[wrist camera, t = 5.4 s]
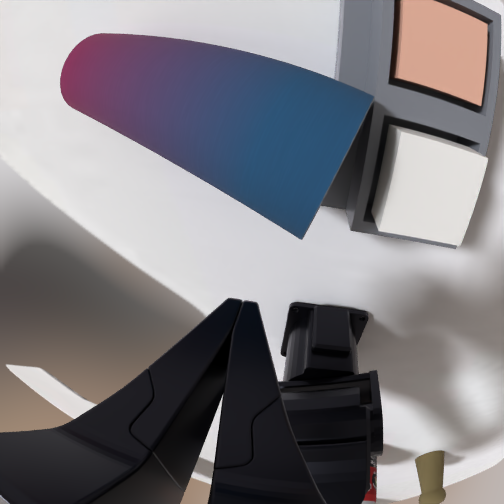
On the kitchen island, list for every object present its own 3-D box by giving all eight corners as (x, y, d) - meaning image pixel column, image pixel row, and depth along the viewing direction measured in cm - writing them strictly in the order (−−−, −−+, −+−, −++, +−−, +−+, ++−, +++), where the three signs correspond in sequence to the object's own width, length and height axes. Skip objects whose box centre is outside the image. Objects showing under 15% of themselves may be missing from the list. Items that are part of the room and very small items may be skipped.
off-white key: (446, 226, 13) (460, 246, 12) (371, 211, 14) (378, 231, 12) (468, 147, 11) (488, 158, 9) (389, 123, 12) (401, 131, 10)
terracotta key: (462, 101, 11) (481, 106, 9) (386, 77, 12) (398, 77, 10) (468, 27, 9) (487, 24, 7) (392, 0, 9) (403, -10, 8)
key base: (444, 213, 18) (474, 252, 13) (320, 190, 19) (322, 226, 14) (477, 32, 10) (521, 27, 6) (340, -11, 12) (351, -40, 7)
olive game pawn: (409, 460, 41) (410, 510, 32) (433, 449, 38) (437, 501, 29) (426, 462, 42) (428, 508, 32) (449, 451, 38) (454, 499, 29)
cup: (129, 5, 12) (384, 75, 10) (136, 88, 18) (336, 173, 16) (34, 52, 9) (346, 155, 7) (64, 144, 15) (287, 266, 13)
